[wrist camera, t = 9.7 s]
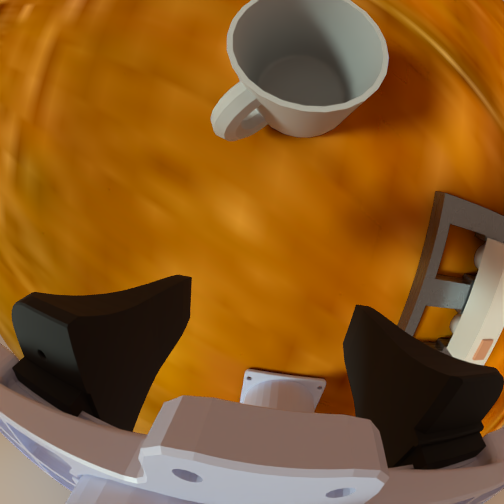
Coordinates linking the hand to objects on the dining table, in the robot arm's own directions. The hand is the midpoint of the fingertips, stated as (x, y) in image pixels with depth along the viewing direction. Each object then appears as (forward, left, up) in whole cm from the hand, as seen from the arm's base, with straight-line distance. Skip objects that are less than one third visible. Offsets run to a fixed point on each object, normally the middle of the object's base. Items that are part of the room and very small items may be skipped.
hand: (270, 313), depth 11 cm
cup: (+11, +1, -10) cm, 15 cm away
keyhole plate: (-1, -18, -10) cm, 21 cm away
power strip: (-1, -20, -10) cm, 22 cm away
